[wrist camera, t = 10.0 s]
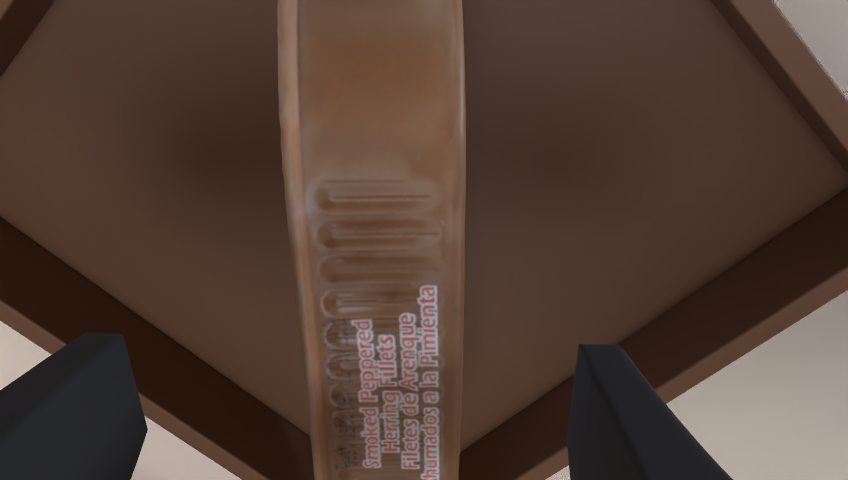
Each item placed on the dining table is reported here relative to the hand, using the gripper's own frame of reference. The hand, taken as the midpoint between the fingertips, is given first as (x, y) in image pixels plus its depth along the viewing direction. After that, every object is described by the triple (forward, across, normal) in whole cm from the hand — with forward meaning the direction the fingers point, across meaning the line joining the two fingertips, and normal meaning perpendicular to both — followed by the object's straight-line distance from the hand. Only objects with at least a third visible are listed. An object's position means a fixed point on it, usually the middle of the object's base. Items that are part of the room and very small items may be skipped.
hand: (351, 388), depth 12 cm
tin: (+9, 0, 0) cm, 9 cm away
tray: (+9, 0, 0) cm, 9 cm away
